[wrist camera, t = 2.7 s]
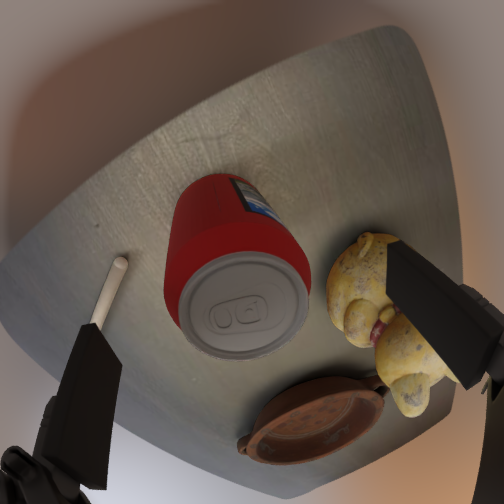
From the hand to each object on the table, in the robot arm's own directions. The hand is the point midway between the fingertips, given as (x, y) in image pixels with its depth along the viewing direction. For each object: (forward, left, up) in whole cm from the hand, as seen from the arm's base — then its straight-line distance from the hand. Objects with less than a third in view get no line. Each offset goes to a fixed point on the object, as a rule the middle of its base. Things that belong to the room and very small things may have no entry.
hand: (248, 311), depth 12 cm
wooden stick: (-5, -13, -12) cm, 18 cm away
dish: (+23, -17, -12) cm, 31 cm away
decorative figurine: (+13, +2, -12) cm, 18 cm away
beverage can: (0, 0, -12) cm, 12 cm away
